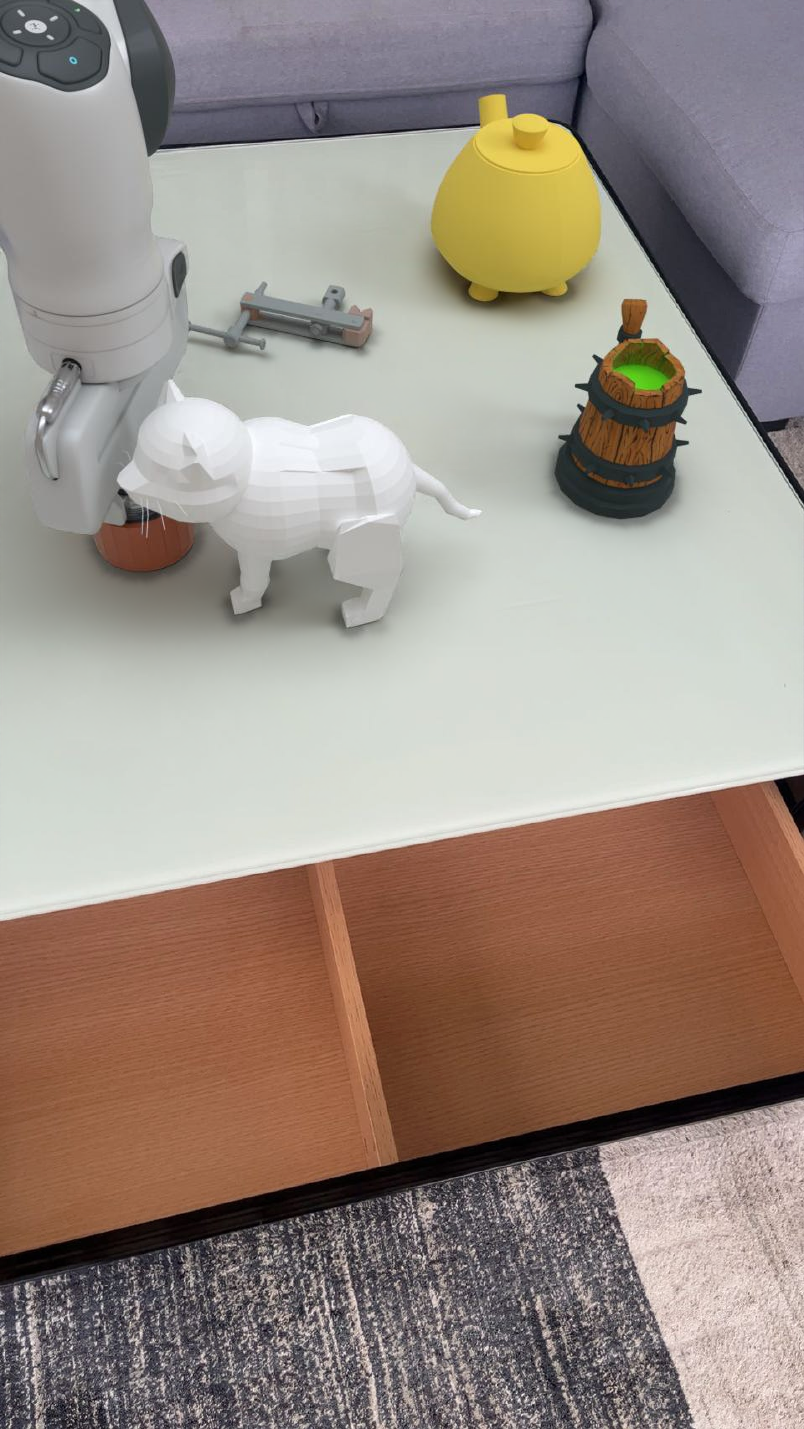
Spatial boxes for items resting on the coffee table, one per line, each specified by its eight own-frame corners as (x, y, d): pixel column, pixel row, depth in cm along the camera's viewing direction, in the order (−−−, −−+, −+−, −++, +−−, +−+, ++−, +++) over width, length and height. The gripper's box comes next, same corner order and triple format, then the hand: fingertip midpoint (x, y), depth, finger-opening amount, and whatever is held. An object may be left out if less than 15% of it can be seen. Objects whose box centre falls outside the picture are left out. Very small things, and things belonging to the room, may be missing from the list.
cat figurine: (453, 503, 83) (475, 316, 69) (496, 603, 77) (529, 421, 64) (130, 557, 78) (84, 368, 64) (150, 667, 73) (105, 487, 59)
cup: (80, 562, 78) (67, 518, 74) (114, 492, 82) (103, 447, 78) (178, 579, 77) (170, 535, 73) (207, 508, 81) (201, 463, 78)
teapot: (404, 202, 107) (412, 55, 95) (553, 194, 109) (578, 49, 97) (447, 325, 96) (461, 175, 84) (611, 312, 98) (647, 164, 87)
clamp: (382, 289, 94) (349, 356, 89) (381, 310, 96) (349, 378, 91) (222, 256, 96) (180, 320, 91) (225, 278, 98) (184, 342, 92)
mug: (685, 524, 83) (730, 404, 73) (555, 518, 82) (583, 397, 73) (663, 413, 90) (702, 292, 81) (544, 408, 90) (568, 285, 80)
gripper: (86, 436, 58) (127, 601, 69) (195, 230, 69) (214, 400, 81) (-25, 418, 58) (34, 584, 70) (102, 215, 70) (134, 387, 81)
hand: (132, 484), depth 75 cm, fingers closed on pill bottle, 5 cm apart
